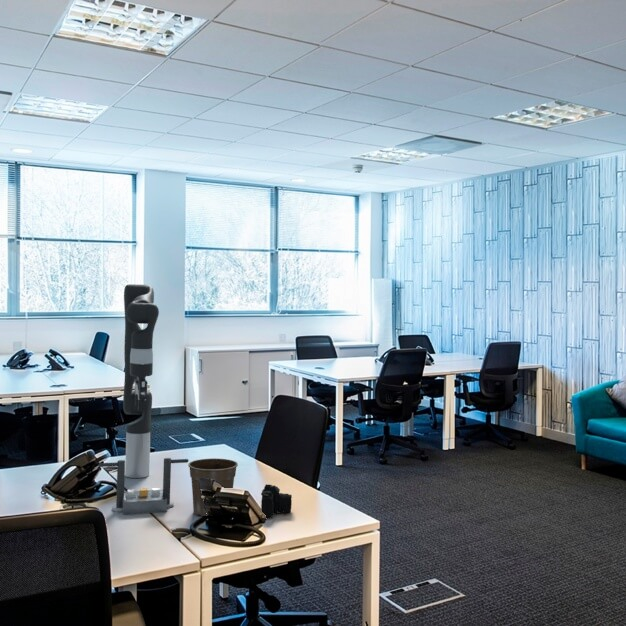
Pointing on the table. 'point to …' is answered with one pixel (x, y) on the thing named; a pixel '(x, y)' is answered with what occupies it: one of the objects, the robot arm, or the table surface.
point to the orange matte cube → (143, 492)
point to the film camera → (274, 501)
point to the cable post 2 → (169, 477)
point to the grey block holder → (144, 502)
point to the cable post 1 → (118, 482)
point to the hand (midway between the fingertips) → (140, 408)
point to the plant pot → (210, 477)
